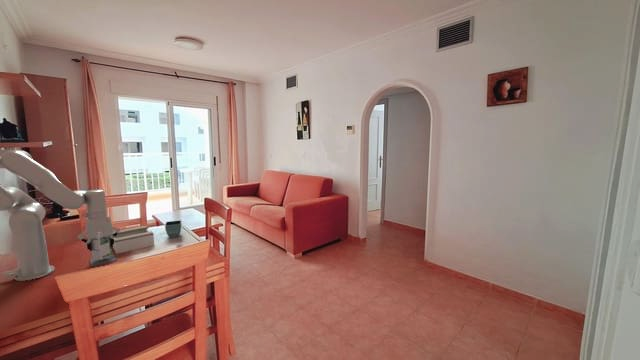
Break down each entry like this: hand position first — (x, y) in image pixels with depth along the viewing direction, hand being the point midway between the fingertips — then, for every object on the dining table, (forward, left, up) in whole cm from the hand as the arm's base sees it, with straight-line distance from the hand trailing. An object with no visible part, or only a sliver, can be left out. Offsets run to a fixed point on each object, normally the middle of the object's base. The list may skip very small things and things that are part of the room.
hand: (101, 247), depth 135 cm
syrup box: (0, 0, -5) cm, 5 cm away
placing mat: (0, 0, -7) cm, 7 cm away
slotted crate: (+15, +14, -7) cm, 22 cm away
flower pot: (+37, +13, -7) cm, 40 cm away
